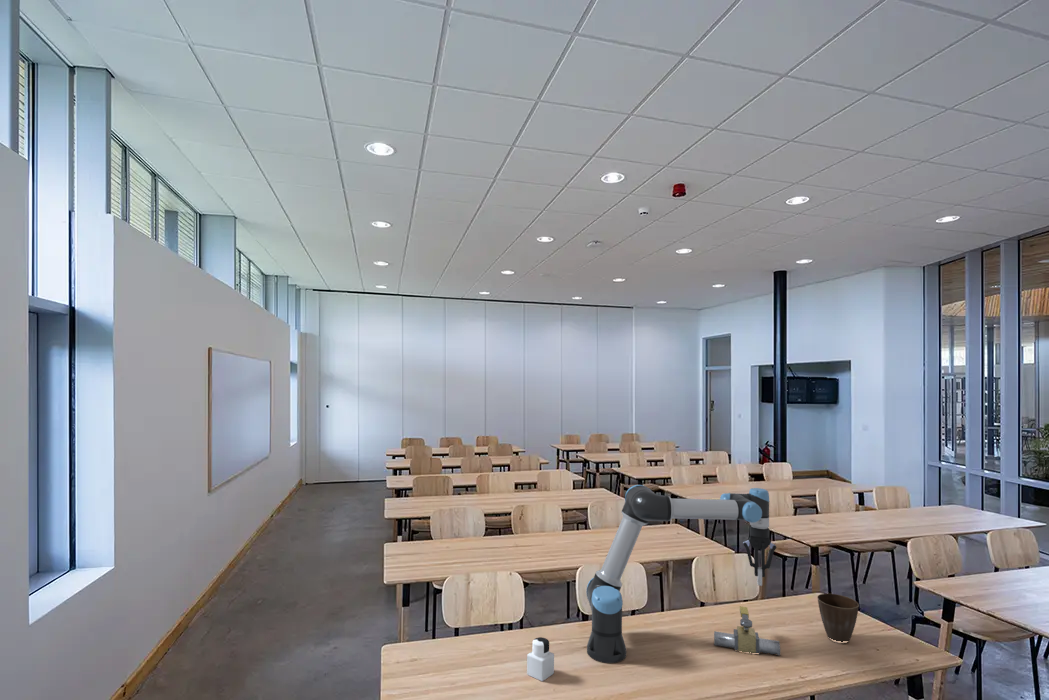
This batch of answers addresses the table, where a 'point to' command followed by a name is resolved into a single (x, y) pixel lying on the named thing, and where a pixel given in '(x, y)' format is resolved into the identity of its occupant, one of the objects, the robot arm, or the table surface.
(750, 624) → the lever
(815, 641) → the table surface
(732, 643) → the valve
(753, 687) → the table surface
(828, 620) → the plant pot
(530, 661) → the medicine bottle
